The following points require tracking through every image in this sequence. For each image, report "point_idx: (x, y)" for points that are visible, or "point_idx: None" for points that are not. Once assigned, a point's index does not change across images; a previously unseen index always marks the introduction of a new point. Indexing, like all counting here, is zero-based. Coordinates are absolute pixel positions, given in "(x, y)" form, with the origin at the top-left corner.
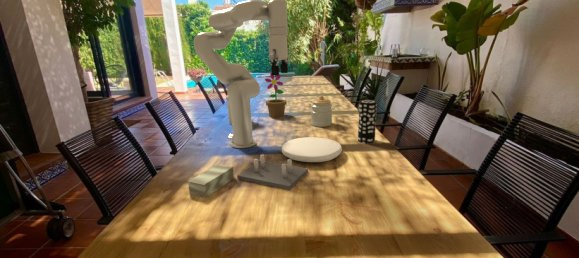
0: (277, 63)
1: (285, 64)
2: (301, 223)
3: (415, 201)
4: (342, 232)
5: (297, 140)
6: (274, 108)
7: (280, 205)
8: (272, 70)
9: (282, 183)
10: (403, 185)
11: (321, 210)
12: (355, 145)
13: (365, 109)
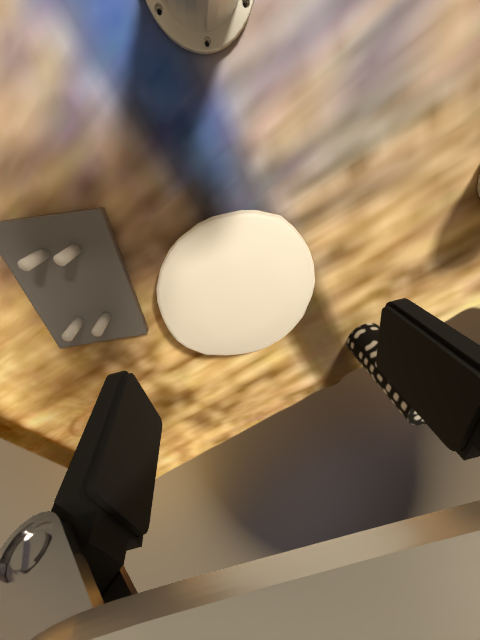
0: (106, 593)
1: (455, 437)
2: (11, 400)
3: (166, 449)
4: (43, 433)
5: (245, 253)
6: None
7: (13, 360)
8: (97, 429)
9: (55, 334)
10: (198, 432)
11: (59, 401)
12: (329, 333)
13: (396, 398)
